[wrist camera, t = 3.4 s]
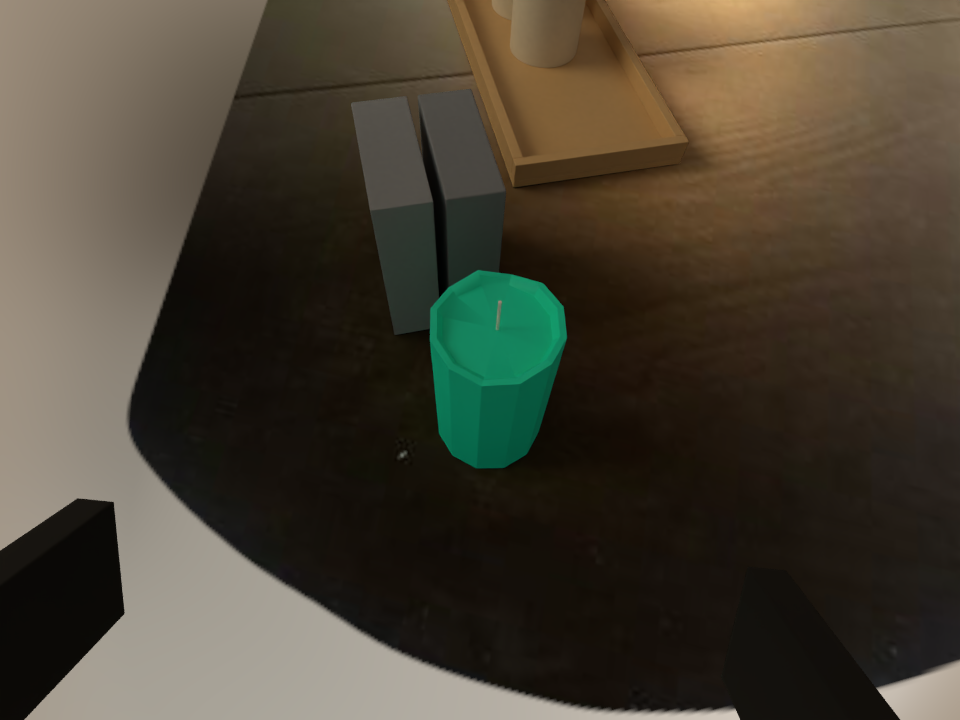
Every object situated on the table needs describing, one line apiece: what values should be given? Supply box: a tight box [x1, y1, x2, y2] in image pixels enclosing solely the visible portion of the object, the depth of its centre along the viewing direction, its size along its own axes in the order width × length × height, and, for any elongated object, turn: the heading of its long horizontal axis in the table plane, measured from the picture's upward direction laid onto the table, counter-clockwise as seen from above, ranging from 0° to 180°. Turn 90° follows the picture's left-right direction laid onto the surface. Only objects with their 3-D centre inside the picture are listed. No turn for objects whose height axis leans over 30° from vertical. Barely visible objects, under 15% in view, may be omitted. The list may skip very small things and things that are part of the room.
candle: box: [430, 270, 567, 468], centre depth 28 cm, size 6×6×12 cm
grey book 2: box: [418, 89, 506, 293], centre depth 34 cm, size 8×3×11 cm, turn 13°
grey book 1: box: [351, 96, 439, 335], centre depth 33 cm, size 8×3×11 cm, turn 13°
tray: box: [447, 0, 689, 187], centre depth 49 cm, size 28×14×2 cm, turn 13°
